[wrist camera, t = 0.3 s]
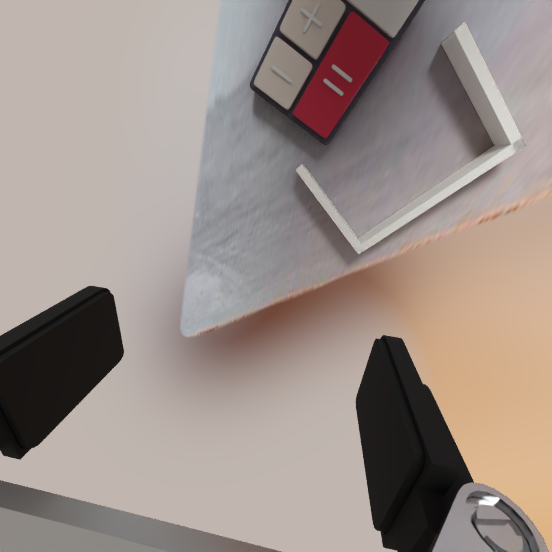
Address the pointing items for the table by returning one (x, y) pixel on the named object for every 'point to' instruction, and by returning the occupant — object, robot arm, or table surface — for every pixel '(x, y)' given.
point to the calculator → (328, 57)
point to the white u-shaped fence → (505, 144)
